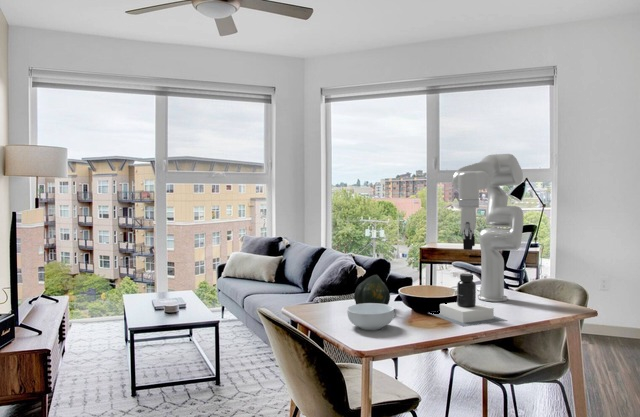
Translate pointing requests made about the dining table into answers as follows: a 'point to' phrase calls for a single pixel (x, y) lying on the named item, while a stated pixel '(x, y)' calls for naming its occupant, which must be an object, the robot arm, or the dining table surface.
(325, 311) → the dining table surface
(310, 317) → the dining table surface
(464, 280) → the supplement bottle
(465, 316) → the plinth block
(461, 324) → the mat
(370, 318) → the cereal bowl
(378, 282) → the squash
